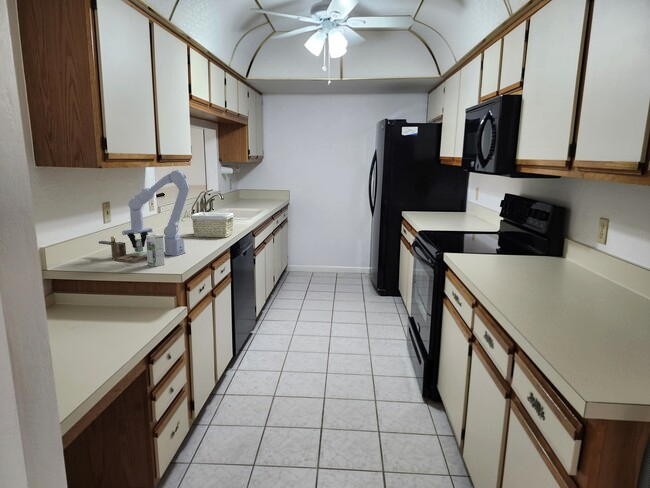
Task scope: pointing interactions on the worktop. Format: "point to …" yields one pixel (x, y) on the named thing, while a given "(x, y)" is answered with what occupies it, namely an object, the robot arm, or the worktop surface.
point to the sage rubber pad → (139, 253)
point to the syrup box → (155, 249)
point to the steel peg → (138, 245)
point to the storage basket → (212, 224)
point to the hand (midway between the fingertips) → (138, 247)
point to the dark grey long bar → (111, 242)
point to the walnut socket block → (124, 254)
